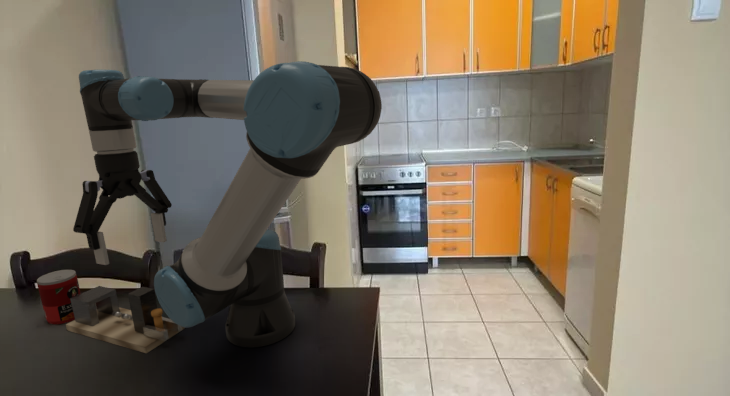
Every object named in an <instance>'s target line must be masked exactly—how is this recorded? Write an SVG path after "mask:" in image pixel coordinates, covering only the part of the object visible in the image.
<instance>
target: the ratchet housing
mask: <svg viewBox="0 0 730 396" xmlns="http://www.w3.org/2000/svg"><path fill="white" fill-rule="evenodd" d="M70 300H71V304H72V308H73V313H74V317H75V321H76V322H78V323H82V324H85V325H89V326H94V325H96V324H98V323H99V319H98V315H97V311H99V312H103V313H107V314H111V315H112V313H113V312H114V311H117V312H120V309H119V307H120V305H119V298H118V295H117V289H115V288H110V287H107V286H106V287H105V286H101V285H97V286H96V287H94V288H93V287H92V288H91V289H89V290H86V291H84V292H81V294H79V295H77V296H75V297H72V298H70Z"/></svg>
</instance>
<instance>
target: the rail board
mask: <svg viewBox="0 0 730 396" xmlns="http://www.w3.org/2000/svg"><path fill="white" fill-rule="evenodd" d="M119 309H120V312H121V313H122V314H123V313H126V314H130V315H131V316H132V313H131V309H129V308H128V309H127V308H124V307H120V306H119ZM97 315H98V319H99V323H98V324H96V325H94V326H89V325H85V324H82V323H78V322H76V321H75V320H73V321H70V322H67V323H65V327H66V328H65V329H66V330H67V332H72V333H75V334H78V335H81V336H84V337H88V338H93V339H95V340H99V341H101V342H106V343H109V344H113V345H116V346H120V347H123V348H127V349H129V350H133V351H137V352H141V353H142V354H143V353H144V354H148V353H150V352H151V351H152V350H154V349H156V348H157V347H158V346H160V345H162V344H164V343H165V342H166V341H167V340H169V339H171V338H172V337H174V336H175V335H177V334H178V333H180V332H181V331H183V330H185V327H182V330H181V331H179V332H177V331H173V330H169V329H166V330H167V331H168V337H169V339H167V340H166V341H163V340H159V339H156V338H152V337H148V336H145V335H144V334H143V333H140V332H136V331H135V328H134V323H133V321H131V320H126V319H122V318H121V317H120V318H118V317H114V316H112V315H111V314H107V313H103V312H99V311H97ZM164 329H165V328H164Z"/></svg>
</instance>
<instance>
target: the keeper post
mask: <svg viewBox="0 0 730 396" xmlns="http://www.w3.org/2000/svg"><path fill="white" fill-rule="evenodd" d="M157 308H158V307H157ZM163 313H164V310H163V309H162V307H160V308H158V309H154V310H152V311H151V316H152V317H153V318H154V324H155V327H158V328H162V329H164V326H163V321H162V317H163V316H162V315H163Z"/></svg>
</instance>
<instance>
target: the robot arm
mask: <svg viewBox="0 0 730 396" xmlns="http://www.w3.org/2000/svg"><path fill="white" fill-rule="evenodd" d="M78 83H79V94H80V96H81V100H82V106H83V111H84V115H85V119H86V124H87V128H88V133H89V138H90V142H91V143H90V144H91V148H92V151H93V152H96V153H95V154H94V156H93V159H94V164H95V170H96V172H97V174H98V180H94V181H93V180H84V181H83V182H82V196H81V198H80V199H81V200H80V204H79V207H78V211H77V215H76V218H75V222H74V225H73V229H72V230H73V232H74V233H76V234H85V236H86V239H87V241H86V242H87V245H88V248H89V250H92V251H93V254H94V258H95V263H96V264H97V265H98V264H99V265H104V266H107V265H109V264H110V260H109V255H108V250H107V244H106V240H105V235H104V232H103V231H99V230H100V229H101V227H102V225H103V223H104V221H105V220H106V218H107V216H108V213H109V211H110V210H111V207H112V206H113V205H114V203H115V202H116V201H117V200H118V199H120V200H121V199H124V198H126V197H132V196H134V197H136V198H138V199H139V200H140V201H141V202H143V203H144V204H145V205H146V206H147V207H148V208H149V209H151V210H152V211H153V212H152V213H150V217H151V223H152V229H153V235H154V241H155V242H159V243H165V242H166V243H167V241H168V240H167V235H166V234H167V233H166V228H165V226H167V219H166V214H167V213H168V211H169V208H172V202H171V201H170V200H169V198H168V196H167V195H166V193H165V192H164V190H163V188H162V187H161V186H160V184H159V183H158V181H157V180H156V178H155V177H156V176H155V173H154V170H153V169H142V170H141V171H139V169H140V160H139V155H138V152H137V151H136V150H135V149H136V148H137V142H136V137H135V132H134V127H133V122H132V121H141V122H148V121H157V120H166V119H179V118H180V119H181V118H208V119H214V118H215V119H225V120H226V119H227V120H237V121H239V120H240V121H243V122H244V126H245V130H246V134H245V135H246V136H245V138H246V141H247V144H248V146H249V150H248V151H247V153H246V155H245V157H244V159H243V160H242V162H241V164H240V166H239V168H238V170H237V172H236V174H235V175H234V177H233V178H232V181H231V182H230V184H229V186H228V188H227V190H226V191H225V193H224V195H223V197H222V198H221V200H220V202H219V205H218V206H217V208H216V209H215V211H214V213H213V215H212V216H211V218H210V221H209V222H208V224H207V226H206V228H205V229H204V232H203V233H202V235H201V236H200V237H197V238H195V239H193V240H191V241H190V242H189V243H188V244H186V246H185V247H184V249H183V250H182V252H181V254H180V256H179V258H178V259H177V261H176V262H174V263H172V264H171V265H165V266H164V267H162V268H161V269H159V270H158V271H157V272H156V273H155V274H154V279H153V287H154V288H153V289H154V291H155V296H156V300H157V301H158V303H159V305H160V308H161V309H162V311H163V313H165V314H166V316H167V318H169V319H171V320H172V321H173V322H174V323H176V324H177V325H180V326H182V327H184V328H192V327H194V326H196V325H200V324H201V323H204V322H205V321H206V320H207V319H209V318H210V317H212V316H214V315H216V314H217V313H220V312H221V311H223V310H224V309H226V308H228V307H229V308H228V311H227V318H226V322H225V326H224V327H225V334H226V336H225V337H226V339H227V340H228V341H229V342H230V344H232V345H235V346H237V347H241V348H260V347H266V346H270V345H272V344H275V343H276V344H277V343H278V342H279V341H280V342H281V341H282V340H284V339H286V337H288V336H289V335H291V333H292V332H293V331H294V330H295V327H296V317H295V312H294V310H293V308H292V307H291V304H290V302H289V300H288V297H287V295H286V292H285V281H284V270H283V257H282V247H281V241H280V236H279V234H278V233H277V232H276V231H275V230H272V229H270V228H269V227H270V226H271V225H272V223H273V221H274V220H275V218H276V217H277V215H278V213H280V211H281V209H282V208H283V206H284V205H285V204H286V202H287V200H288V199H289V197H290V196H291V194H292V193H293V192H294V190H295V189H296V187H297V186H298V184H299V182H300V181H301V180H302V179H310V178H314V176H316V175H317V174H318V173H319V172H320V170H321V169H322V167H323V166H324V164H325V163H326V162H327V160H328V159H329V158H330V156H331V154H332V153H333V152H334V151H335V150H336V149H337V148H340V147H342V146H343V147H344V146H347V145H352V144H355V143H358V142H360V141H362V140H364V139H365V138H367V137H369V135H370V134H372V133H373V131H374V130H375V128H376V127H377V125H378V123H379V121H380V118H381V113H382V109H383V108H382V107H383V106H382V99H381V98H382V97H381V94H380V91H379V89H378V87H377V85H376V83H374V81H373V80H372V78H370V76H368V75H367V74H366V73H365V72H363V71H361V70H358V69H357V68H354V67H350V66H337V65H336V66H334V65H325V64H324V65H322V64H316V63H313V62H309V61H303V60H302V61H299V60H298V61H290V62H281V63H276V64H274V65H271V66H269V67H267V68H265V69H264V70H262V72H260V73H259V74H258V75H257V76H256V77H255V78H254V79H253V80H252V79H251V80H250V79H249V80H248V79H247V80H246V79H244V80H243V79H242V80H241V79H204V78H203V79H185V78H184V79H180V78H179V79H178V78H177V79H175V78H158V77H155V76H141V75H136V76H133V77H129V78H125V75H124V74H123V72H122V71H121V70H116V69H87V70H82V71H80V73H79V74H78ZM141 181H142V182H143V183H144V185H145V186H146V188H144V187H143V185H141ZM101 189H102V191H101ZM146 189H148V191H149V193H148V191H147V190H146ZM99 191H101V193H100V195H99ZM98 195H99V196H98ZM98 199H99V200H98ZM97 200H98V202H97Z"/></svg>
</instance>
